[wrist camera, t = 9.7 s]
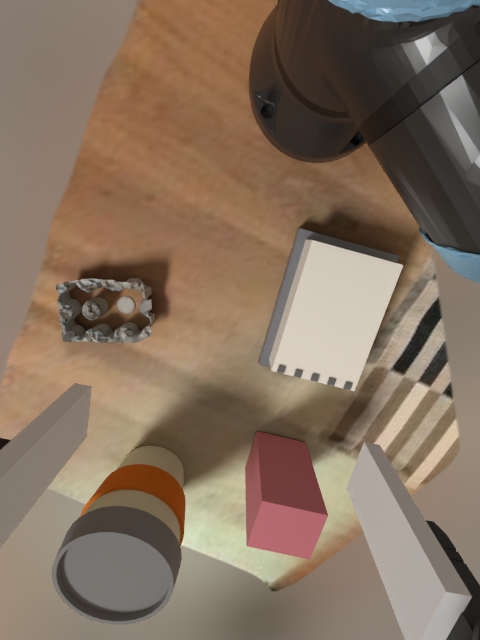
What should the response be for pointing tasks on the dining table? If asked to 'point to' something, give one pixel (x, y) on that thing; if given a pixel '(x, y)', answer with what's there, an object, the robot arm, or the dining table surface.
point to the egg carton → (102, 311)
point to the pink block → (282, 497)
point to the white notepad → (329, 309)
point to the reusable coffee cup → (126, 541)
